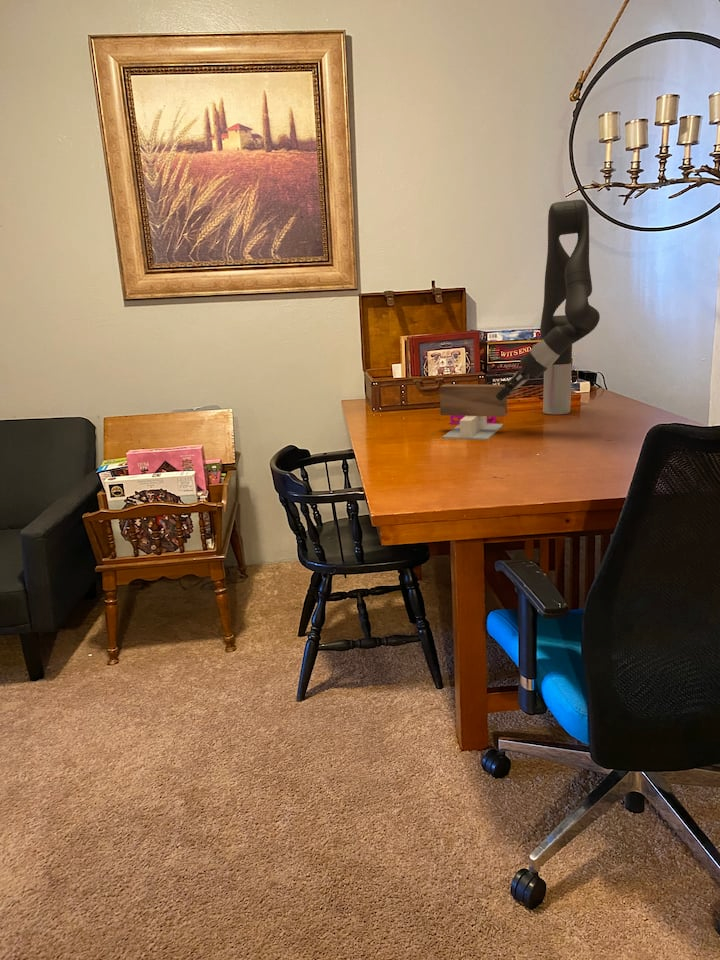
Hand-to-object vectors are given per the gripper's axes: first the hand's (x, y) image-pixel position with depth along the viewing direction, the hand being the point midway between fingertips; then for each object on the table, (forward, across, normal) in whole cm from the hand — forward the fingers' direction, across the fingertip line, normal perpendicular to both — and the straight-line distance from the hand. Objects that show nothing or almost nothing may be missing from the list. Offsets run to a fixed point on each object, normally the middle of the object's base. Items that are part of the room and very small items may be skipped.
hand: (501, 396), depth 210 cm
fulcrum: (+14, 0, +2) cm, 15 cm away
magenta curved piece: (+18, -15, 0) cm, 23 cm away
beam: (+10, 0, -2) cm, 10 cm away
